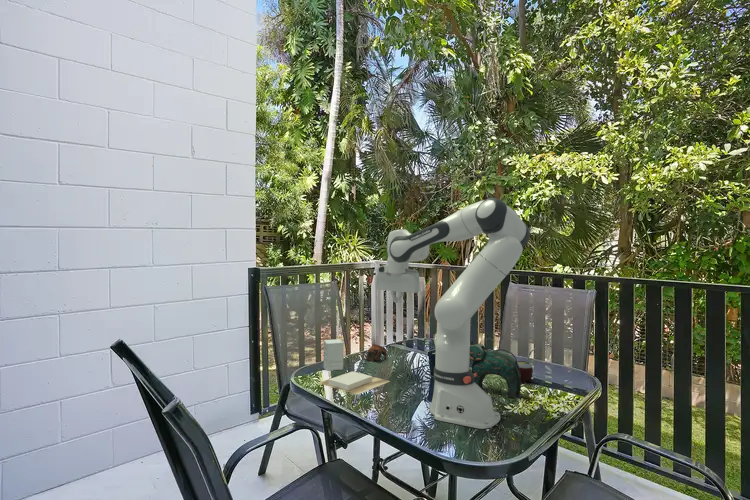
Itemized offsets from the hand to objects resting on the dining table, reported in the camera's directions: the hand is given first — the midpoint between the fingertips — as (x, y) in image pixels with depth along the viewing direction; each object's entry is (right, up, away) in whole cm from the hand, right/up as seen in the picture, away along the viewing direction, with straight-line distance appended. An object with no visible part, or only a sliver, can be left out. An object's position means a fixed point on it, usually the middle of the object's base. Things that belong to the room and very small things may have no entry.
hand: (397, 302), depth 175 cm
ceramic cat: (+36, -32, -15) cm, 50 cm away
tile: (-14, -29, -6) cm, 33 cm away
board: (-17, -31, -10) cm, 37 cm away
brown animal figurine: (-8, -31, +27) cm, 42 cm away
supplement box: (-27, -31, +10) cm, 42 cm away
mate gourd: (+51, -32, -3) cm, 61 cm away
